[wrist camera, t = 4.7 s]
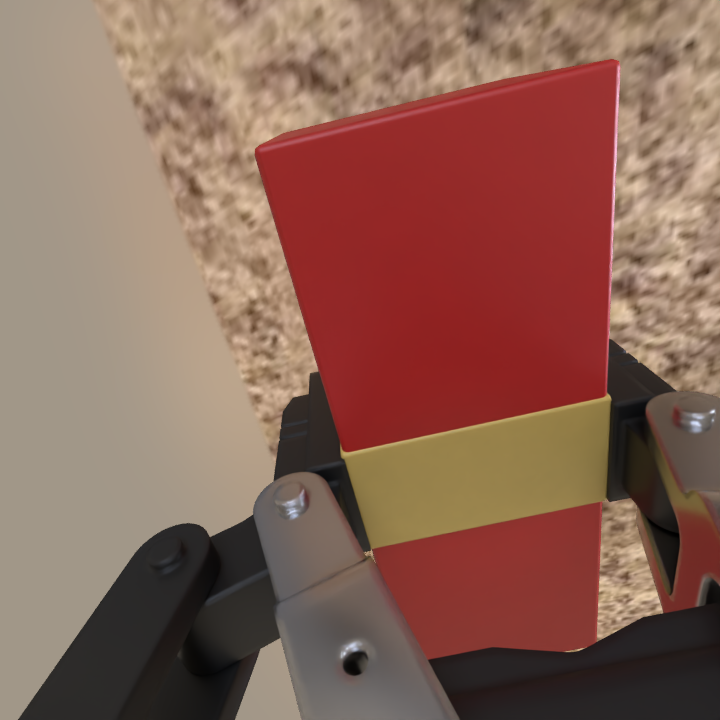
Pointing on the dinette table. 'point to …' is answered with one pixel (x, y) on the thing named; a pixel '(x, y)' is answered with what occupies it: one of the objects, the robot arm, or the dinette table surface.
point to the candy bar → (467, 342)
